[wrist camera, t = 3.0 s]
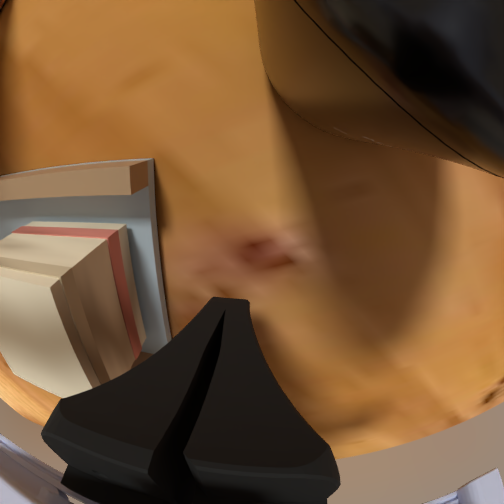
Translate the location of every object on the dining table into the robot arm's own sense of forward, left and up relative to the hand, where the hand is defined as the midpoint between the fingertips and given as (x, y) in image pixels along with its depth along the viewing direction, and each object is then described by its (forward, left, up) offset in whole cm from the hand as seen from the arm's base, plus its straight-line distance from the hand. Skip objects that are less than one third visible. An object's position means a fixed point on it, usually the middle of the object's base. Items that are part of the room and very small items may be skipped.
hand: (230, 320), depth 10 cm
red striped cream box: (0, +7, -2) cm, 8 cm away
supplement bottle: (+10, -4, -3) cm, 11 cm away
